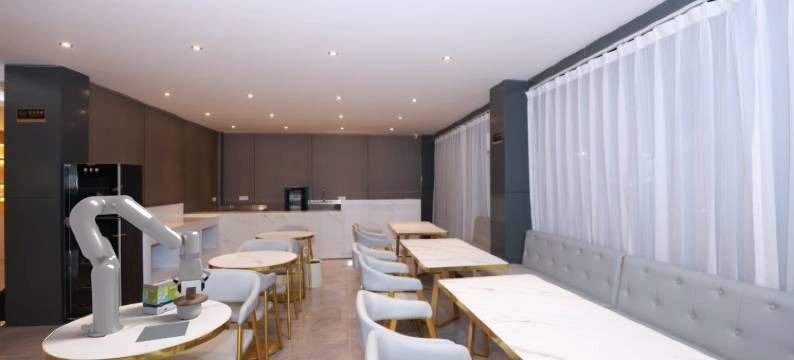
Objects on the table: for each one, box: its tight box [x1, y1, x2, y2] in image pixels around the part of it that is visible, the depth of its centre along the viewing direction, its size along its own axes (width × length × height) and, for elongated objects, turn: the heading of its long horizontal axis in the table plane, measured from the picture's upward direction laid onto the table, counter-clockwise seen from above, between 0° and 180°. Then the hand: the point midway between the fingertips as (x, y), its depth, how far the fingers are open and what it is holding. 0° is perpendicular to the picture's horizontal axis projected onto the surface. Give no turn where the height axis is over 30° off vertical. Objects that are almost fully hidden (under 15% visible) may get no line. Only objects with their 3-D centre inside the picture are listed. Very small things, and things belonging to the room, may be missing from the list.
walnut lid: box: [173, 286, 209, 306], centre depth 192 cm, size 15×15×6 cm
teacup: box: [176, 303, 203, 321], centre depth 192 cm, size 14×11×8 cm
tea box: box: [142, 277, 183, 316], centre depth 204 cm, size 15×10×15 cm, turn 162°
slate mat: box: [135, 320, 191, 343], centre depth 173 cm, size 18×18×1 cm
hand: (191, 291), depth 192 cm, fingers open, 9 cm apart
